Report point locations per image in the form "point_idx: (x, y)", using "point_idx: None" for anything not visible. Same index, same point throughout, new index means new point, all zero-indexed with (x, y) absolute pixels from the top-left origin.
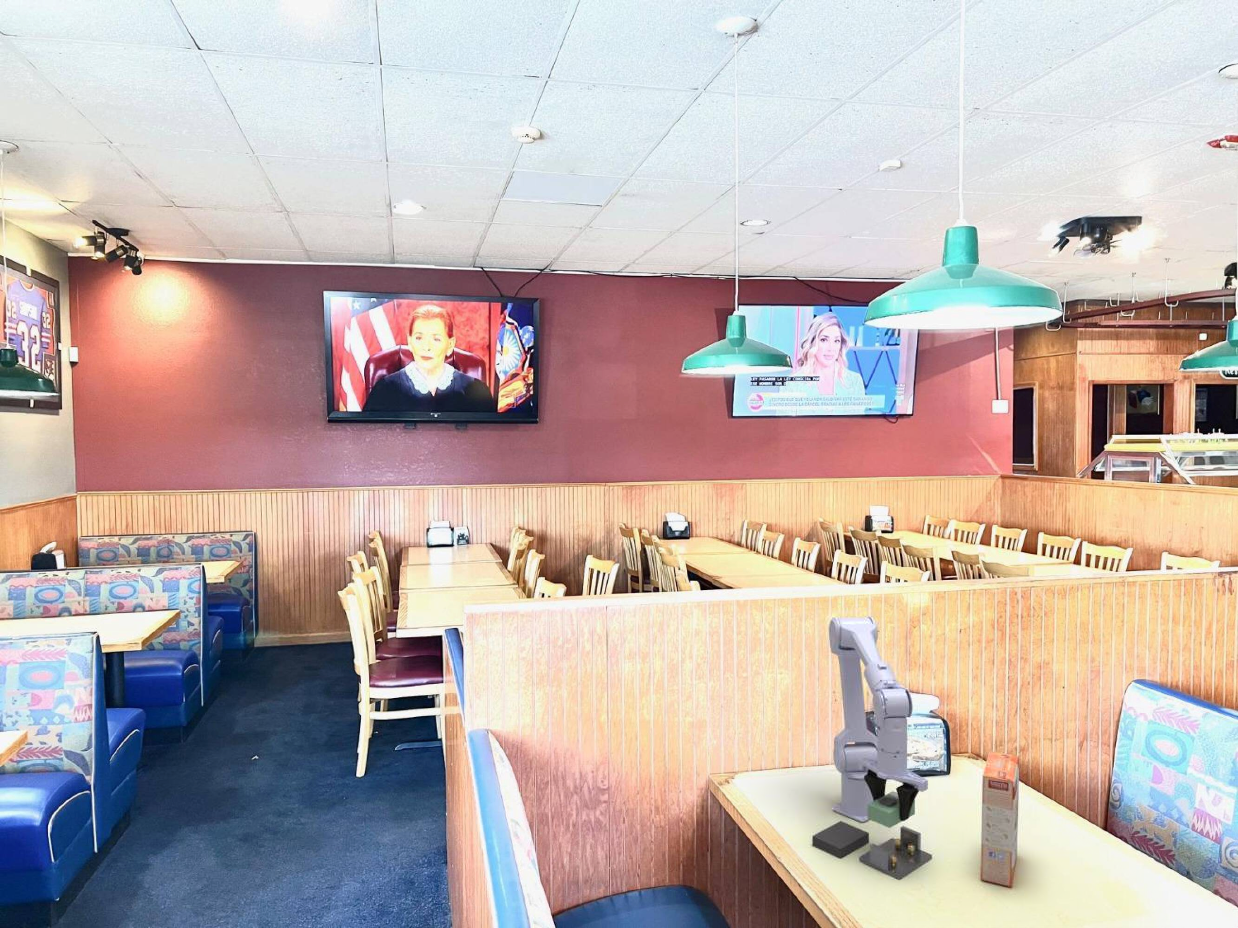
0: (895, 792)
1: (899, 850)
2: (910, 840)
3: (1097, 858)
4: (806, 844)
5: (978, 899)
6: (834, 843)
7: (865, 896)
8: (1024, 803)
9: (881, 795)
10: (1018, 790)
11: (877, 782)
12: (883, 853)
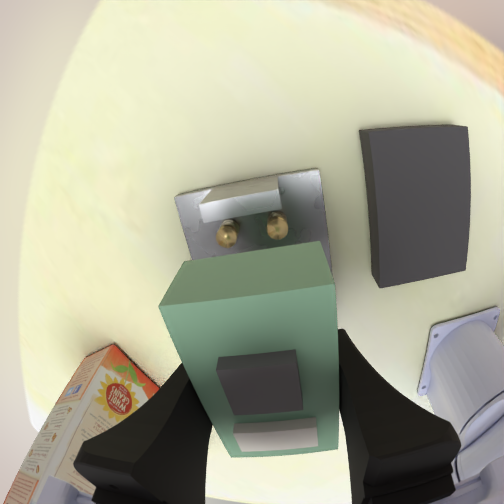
0: (323, 449)
1: None
2: None
3: None
4: (461, 115)
5: (65, 285)
6: (404, 144)
7: (160, 49)
8: (276, 498)
9: (343, 404)
10: None
11: (358, 459)
12: (219, 197)
